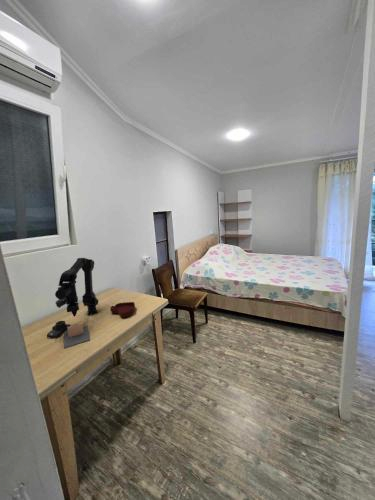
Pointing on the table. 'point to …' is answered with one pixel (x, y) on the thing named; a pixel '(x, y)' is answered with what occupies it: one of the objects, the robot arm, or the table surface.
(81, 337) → the mat
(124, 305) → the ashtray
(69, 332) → the tile
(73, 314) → the robot arm
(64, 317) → the table surface
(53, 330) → the film camera
